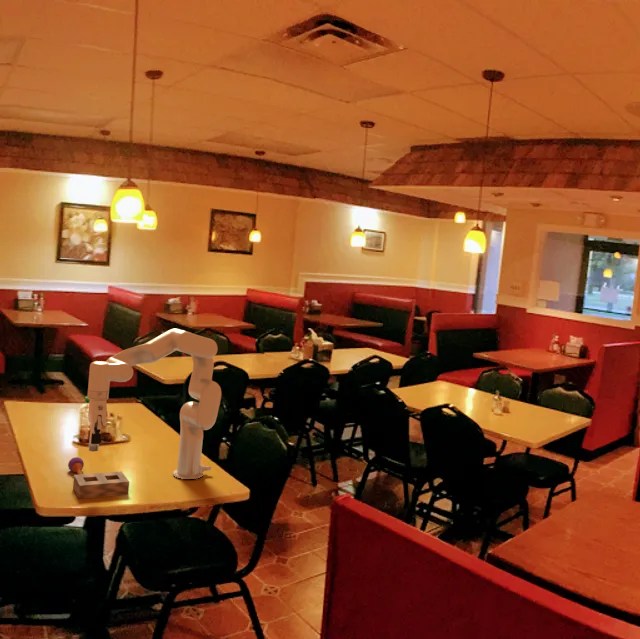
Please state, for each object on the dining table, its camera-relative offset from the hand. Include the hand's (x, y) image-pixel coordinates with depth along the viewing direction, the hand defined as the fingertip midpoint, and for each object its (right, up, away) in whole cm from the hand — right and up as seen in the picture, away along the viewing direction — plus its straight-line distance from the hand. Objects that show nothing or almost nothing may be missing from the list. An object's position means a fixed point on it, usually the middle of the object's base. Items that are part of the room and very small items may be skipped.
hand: (94, 441), depth 244 cm
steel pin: (0, -3, 0) cm, 3 cm away
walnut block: (+1, -20, +4) cm, 20 cm away
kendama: (-12, -18, +16) cm, 27 cm away
